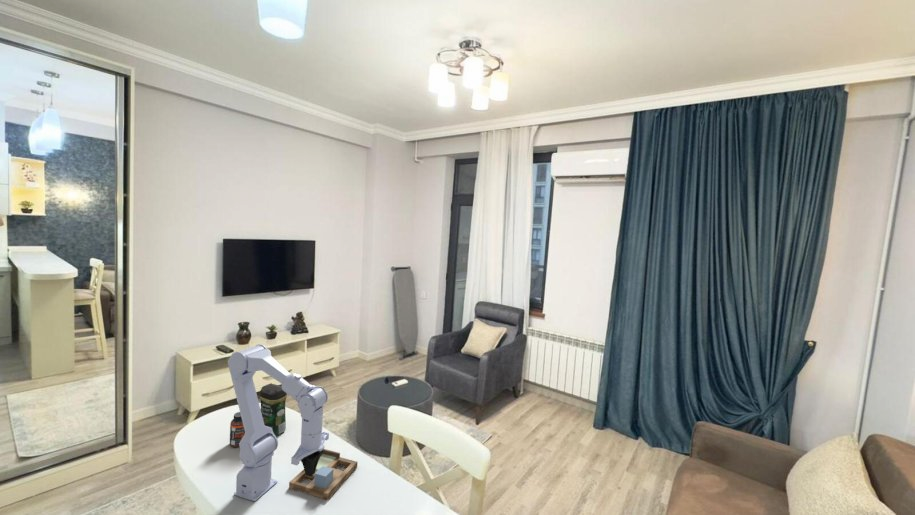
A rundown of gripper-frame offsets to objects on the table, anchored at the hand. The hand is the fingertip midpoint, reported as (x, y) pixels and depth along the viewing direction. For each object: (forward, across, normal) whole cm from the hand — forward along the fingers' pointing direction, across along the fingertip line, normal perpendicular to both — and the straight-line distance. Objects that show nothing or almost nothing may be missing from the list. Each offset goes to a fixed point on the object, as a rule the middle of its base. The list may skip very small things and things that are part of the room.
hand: (310, 474), depth 113 cm
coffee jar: (+10, +28, +38) cm, 48 cm away
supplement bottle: (+10, +16, +43) cm, 47 cm away
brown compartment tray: (+9, +12, +3) cm, 16 cm away
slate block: (+7, +7, 0) cm, 10 cm away
